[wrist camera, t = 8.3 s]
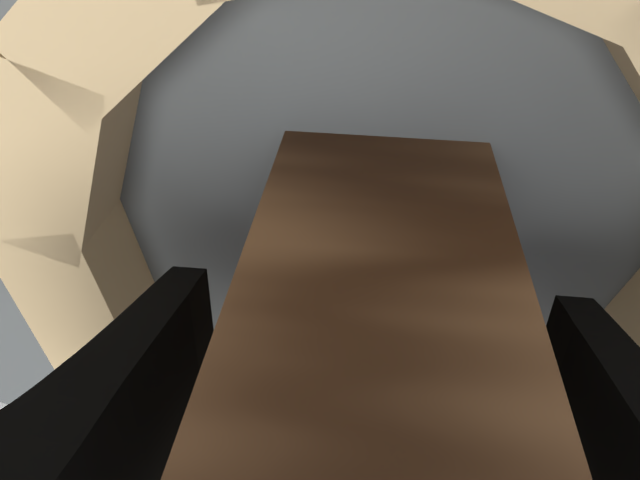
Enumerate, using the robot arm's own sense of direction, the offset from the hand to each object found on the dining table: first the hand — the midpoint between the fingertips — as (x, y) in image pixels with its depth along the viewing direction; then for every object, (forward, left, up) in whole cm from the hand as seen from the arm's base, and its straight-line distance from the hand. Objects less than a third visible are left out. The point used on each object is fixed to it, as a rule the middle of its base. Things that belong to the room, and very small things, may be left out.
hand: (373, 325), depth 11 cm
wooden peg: (0, 0, -3) cm, 3 cm away
